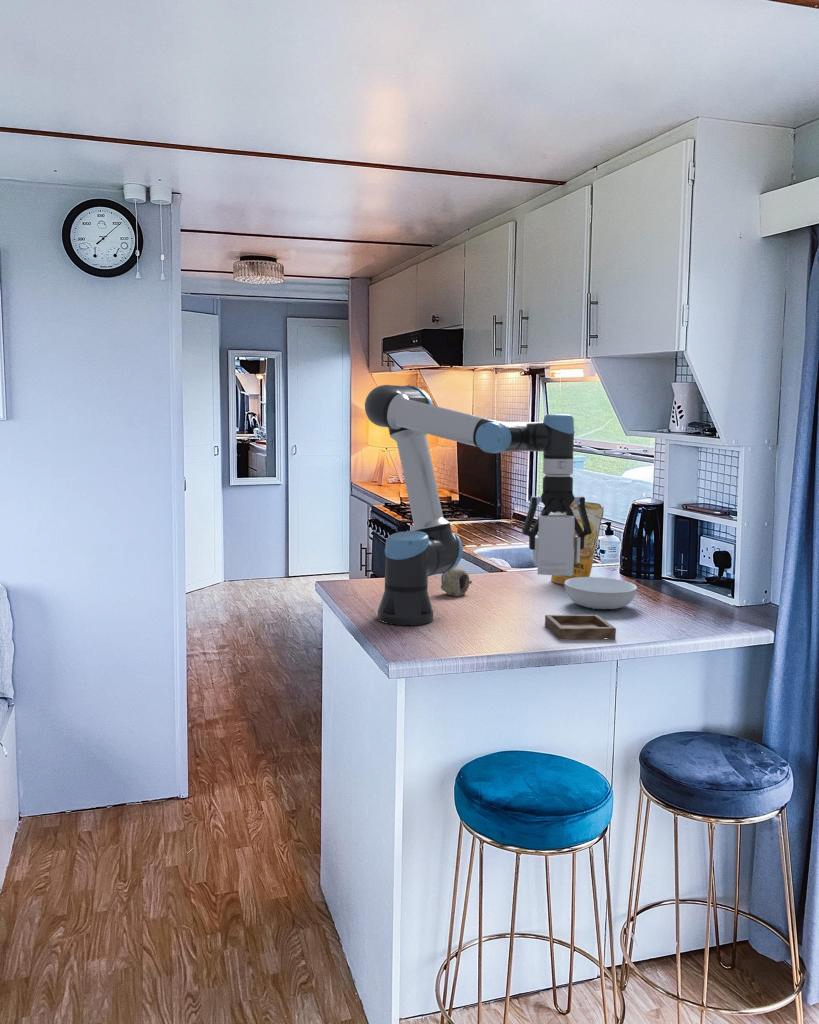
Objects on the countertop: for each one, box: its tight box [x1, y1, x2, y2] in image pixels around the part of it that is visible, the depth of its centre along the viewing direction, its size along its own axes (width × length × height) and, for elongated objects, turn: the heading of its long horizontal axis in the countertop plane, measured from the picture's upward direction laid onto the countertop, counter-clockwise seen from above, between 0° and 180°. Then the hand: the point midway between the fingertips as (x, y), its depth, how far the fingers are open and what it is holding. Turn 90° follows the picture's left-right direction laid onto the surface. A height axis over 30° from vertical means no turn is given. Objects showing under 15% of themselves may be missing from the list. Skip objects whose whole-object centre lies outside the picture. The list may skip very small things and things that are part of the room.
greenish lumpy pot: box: [440, 565, 473, 597], centre depth 267 cm, size 9×8×10 cm
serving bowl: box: [564, 576, 638, 610], centre depth 254 cm, size 21×21×7 cm
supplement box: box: [537, 512, 575, 576], centre depth 221 cm, size 9×9×15 cm
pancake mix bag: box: [550, 501, 604, 586], centre depth 284 cm, size 7×19×28 cm, turn 39°
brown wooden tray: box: [544, 614, 617, 640], centre depth 225 cm, size 14×14×3 cm
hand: (556, 562), depth 221 cm, fingers closed on supplement box, 10 cm apart
